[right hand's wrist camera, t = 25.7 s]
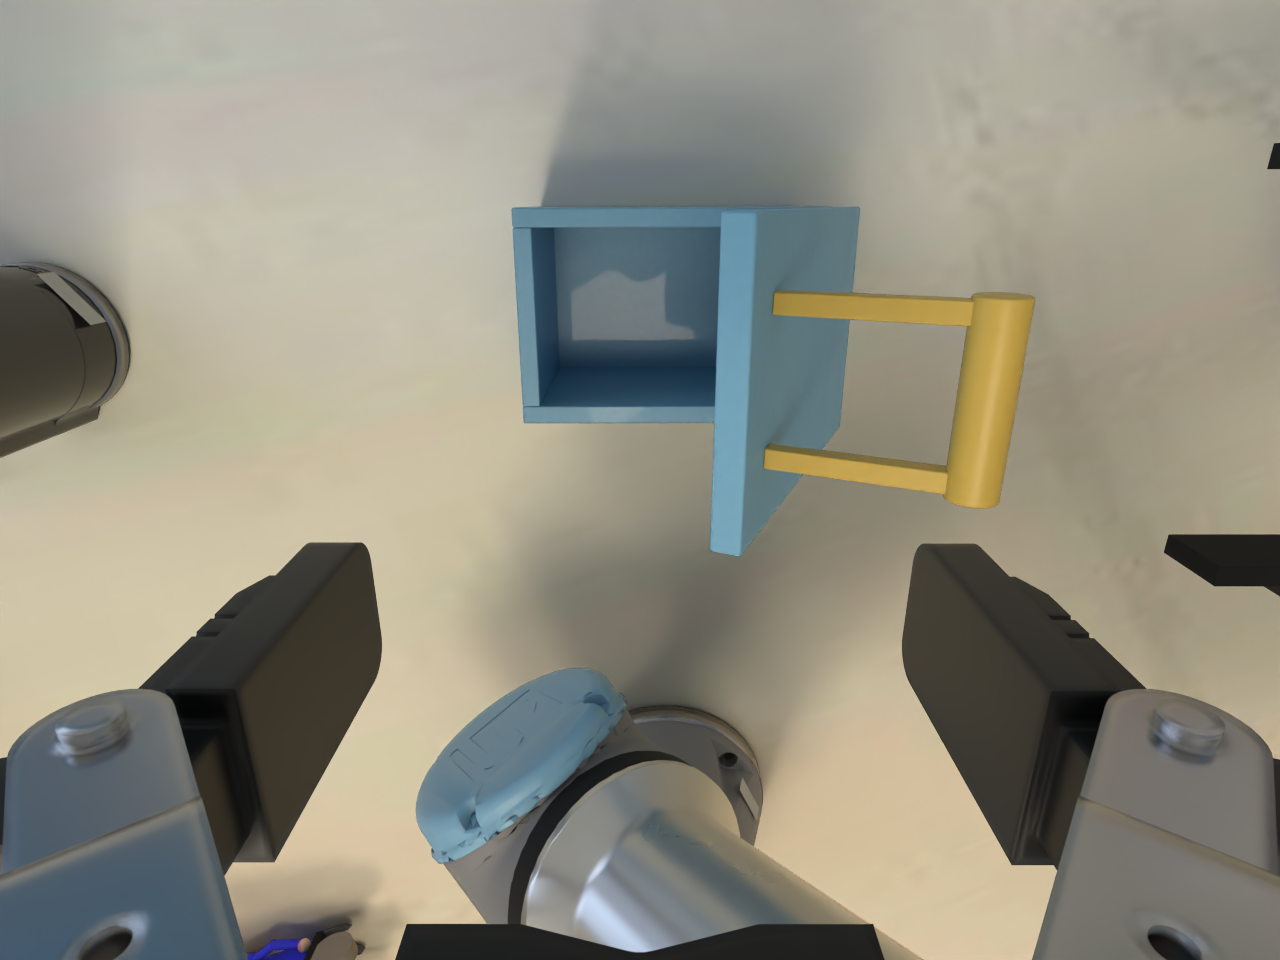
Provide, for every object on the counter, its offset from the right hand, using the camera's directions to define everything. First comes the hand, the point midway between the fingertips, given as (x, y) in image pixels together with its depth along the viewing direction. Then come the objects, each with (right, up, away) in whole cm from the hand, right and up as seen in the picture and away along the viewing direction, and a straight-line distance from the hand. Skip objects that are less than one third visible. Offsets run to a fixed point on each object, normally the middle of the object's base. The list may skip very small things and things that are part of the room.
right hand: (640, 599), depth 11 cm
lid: (+6, +7, +18) cm, 20 cm away
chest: (+2, +13, +35) cm, 38 cm away
